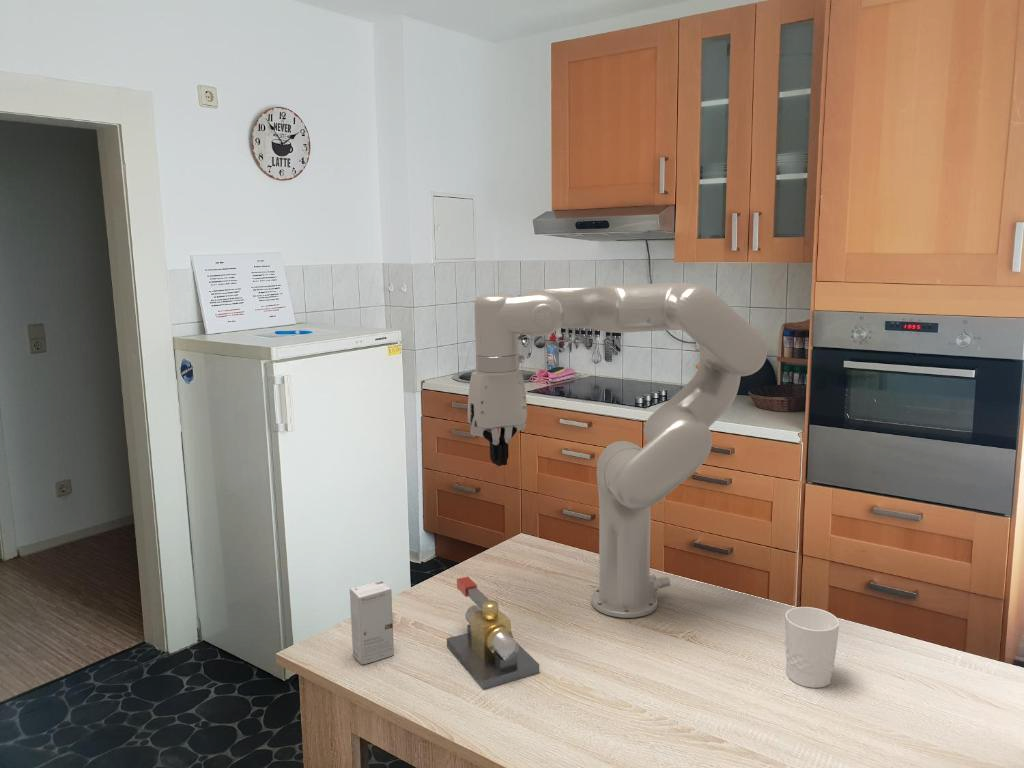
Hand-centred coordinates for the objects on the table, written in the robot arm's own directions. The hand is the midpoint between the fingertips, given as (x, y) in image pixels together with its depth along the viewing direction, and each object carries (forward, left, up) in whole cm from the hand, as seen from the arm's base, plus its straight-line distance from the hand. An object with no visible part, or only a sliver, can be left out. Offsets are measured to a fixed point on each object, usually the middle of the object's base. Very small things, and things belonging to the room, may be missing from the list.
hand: (499, 463), depth 142 cm
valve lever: (+9, +9, -21) cm, 25 cm away
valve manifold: (+9, +14, -29) cm, 34 cm away
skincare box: (+26, +3, -29) cm, 39 cm away
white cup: (-33, +43, -29) cm, 62 cm away
